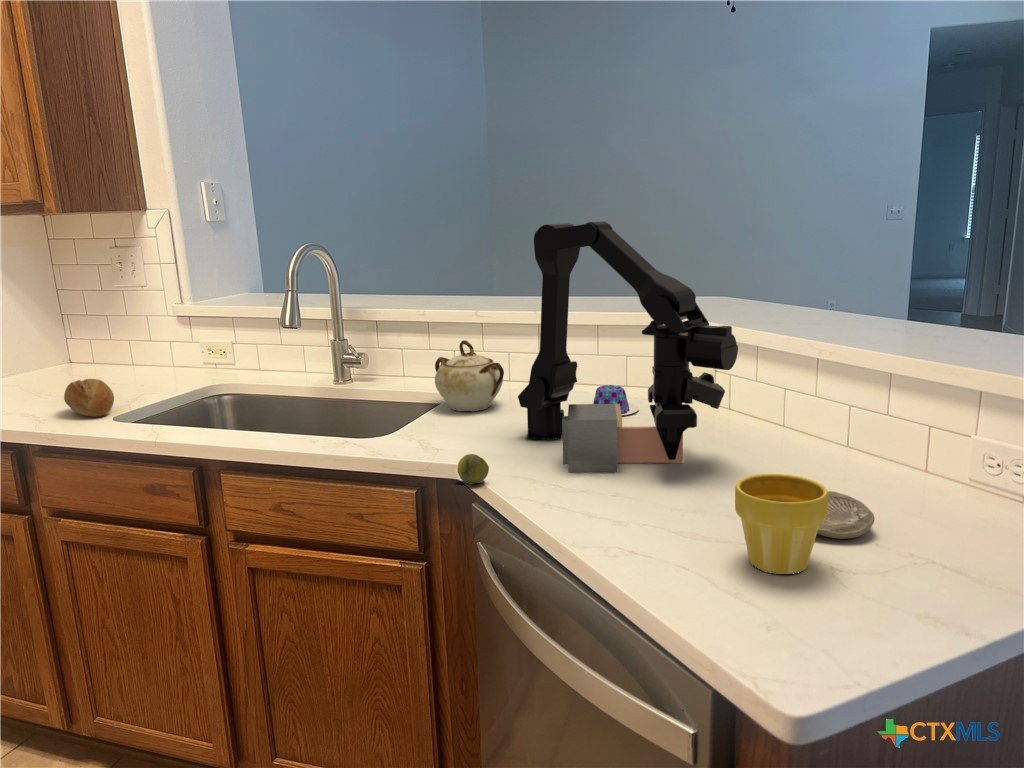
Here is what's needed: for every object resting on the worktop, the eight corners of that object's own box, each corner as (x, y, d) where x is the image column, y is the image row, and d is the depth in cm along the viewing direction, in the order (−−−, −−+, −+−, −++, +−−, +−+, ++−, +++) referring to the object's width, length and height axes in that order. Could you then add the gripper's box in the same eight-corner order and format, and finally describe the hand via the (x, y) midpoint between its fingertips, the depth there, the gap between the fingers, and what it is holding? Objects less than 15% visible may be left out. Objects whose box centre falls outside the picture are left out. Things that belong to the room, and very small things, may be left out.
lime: (455, 481, 125) (453, 452, 123) (483, 476, 126) (481, 447, 125) (463, 490, 121) (462, 460, 119) (492, 485, 122) (491, 455, 121)
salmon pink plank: (574, 462, 131) (574, 428, 130) (574, 460, 132) (574, 427, 131) (682, 462, 129) (683, 428, 128) (681, 460, 130) (682, 426, 129)
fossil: (822, 556, 97) (822, 535, 96) (768, 518, 107) (768, 499, 107) (892, 537, 99) (893, 517, 98) (833, 502, 110) (833, 484, 109)
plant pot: (748, 538, 100) (751, 466, 98) (832, 556, 94) (837, 480, 92) (720, 569, 92) (723, 492, 90) (810, 591, 86) (815, 509, 84)
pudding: (613, 422, 156) (613, 397, 155) (570, 412, 164) (570, 388, 163) (650, 410, 163) (650, 386, 162) (607, 401, 172) (607, 378, 171)
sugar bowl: (414, 408, 171) (410, 342, 167) (459, 394, 182) (456, 332, 179) (481, 421, 159) (478, 350, 155) (526, 405, 170) (524, 338, 166)
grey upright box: (562, 472, 127) (561, 420, 125) (564, 453, 137) (563, 404, 135) (622, 472, 126) (622, 419, 124) (619, 453, 136) (619, 403, 134)
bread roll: (77, 424, 168) (70, 388, 166) (60, 412, 179) (54, 378, 177) (124, 415, 174) (118, 380, 172) (105, 404, 185) (99, 371, 183)
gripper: (732, 375, 116) (728, 473, 120) (712, 351, 134) (710, 437, 138) (657, 375, 117) (656, 472, 121) (647, 352, 135) (647, 437, 139)
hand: (670, 454), depth 130 cm, fingers open, 5 cm apart
